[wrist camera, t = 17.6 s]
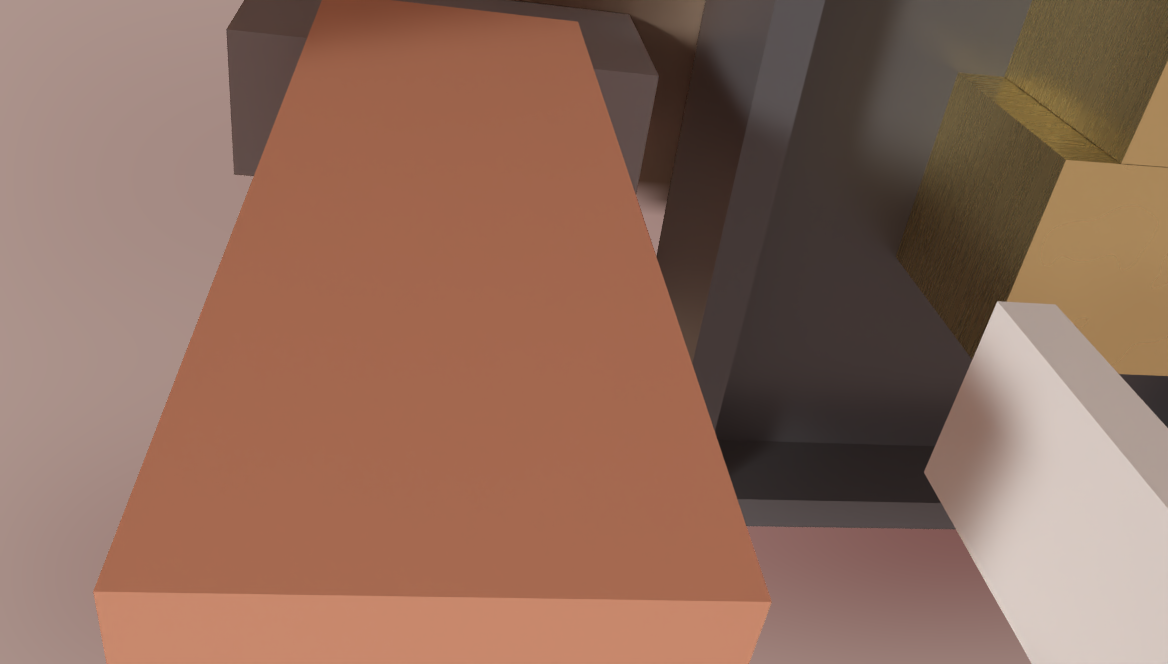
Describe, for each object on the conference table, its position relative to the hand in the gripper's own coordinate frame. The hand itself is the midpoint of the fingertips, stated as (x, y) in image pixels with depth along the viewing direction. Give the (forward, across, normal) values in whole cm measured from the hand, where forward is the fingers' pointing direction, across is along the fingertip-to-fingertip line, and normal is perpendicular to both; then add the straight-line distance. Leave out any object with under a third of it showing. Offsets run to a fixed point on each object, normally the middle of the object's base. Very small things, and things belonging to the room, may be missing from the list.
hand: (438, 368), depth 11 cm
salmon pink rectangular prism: (+10, 0, 0) cm, 10 cm away
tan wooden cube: (+8, +12, -1) cm, 14 cm away
